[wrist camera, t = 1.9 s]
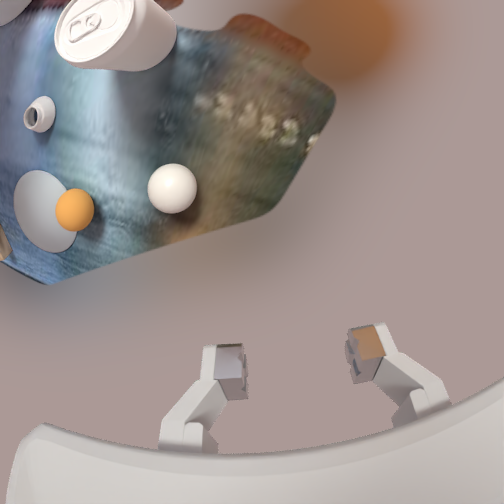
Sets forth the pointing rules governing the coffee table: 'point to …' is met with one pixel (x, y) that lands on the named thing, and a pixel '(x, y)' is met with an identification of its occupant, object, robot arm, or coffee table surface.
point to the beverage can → (114, 34)
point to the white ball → (172, 188)
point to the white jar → (40, 114)
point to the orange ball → (74, 210)
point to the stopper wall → (4, 245)
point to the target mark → (41, 211)
